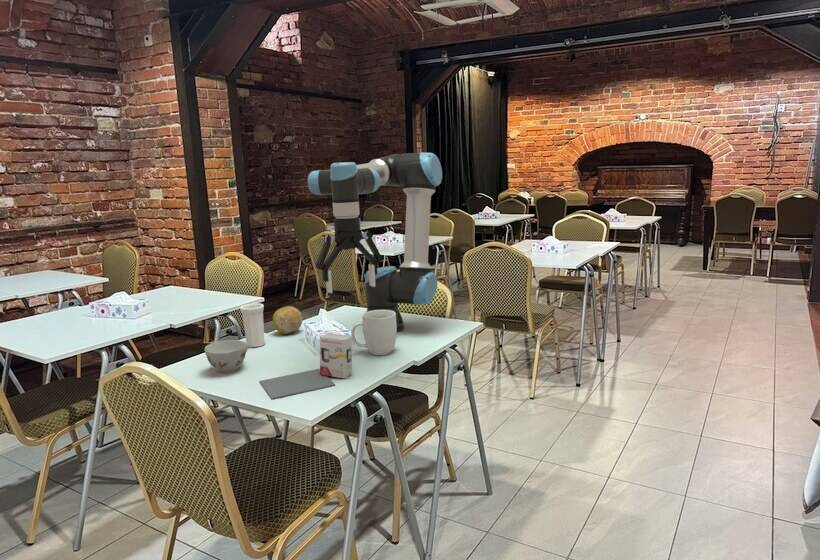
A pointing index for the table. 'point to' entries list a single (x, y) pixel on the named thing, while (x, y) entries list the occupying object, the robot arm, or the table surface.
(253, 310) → the cup
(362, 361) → the table surface
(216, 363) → the teacup
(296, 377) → the mat
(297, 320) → the fruit
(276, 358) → the table surface
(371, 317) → the mug
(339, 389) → the table surface
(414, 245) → the robot arm
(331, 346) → the ink box
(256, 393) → the table surface
